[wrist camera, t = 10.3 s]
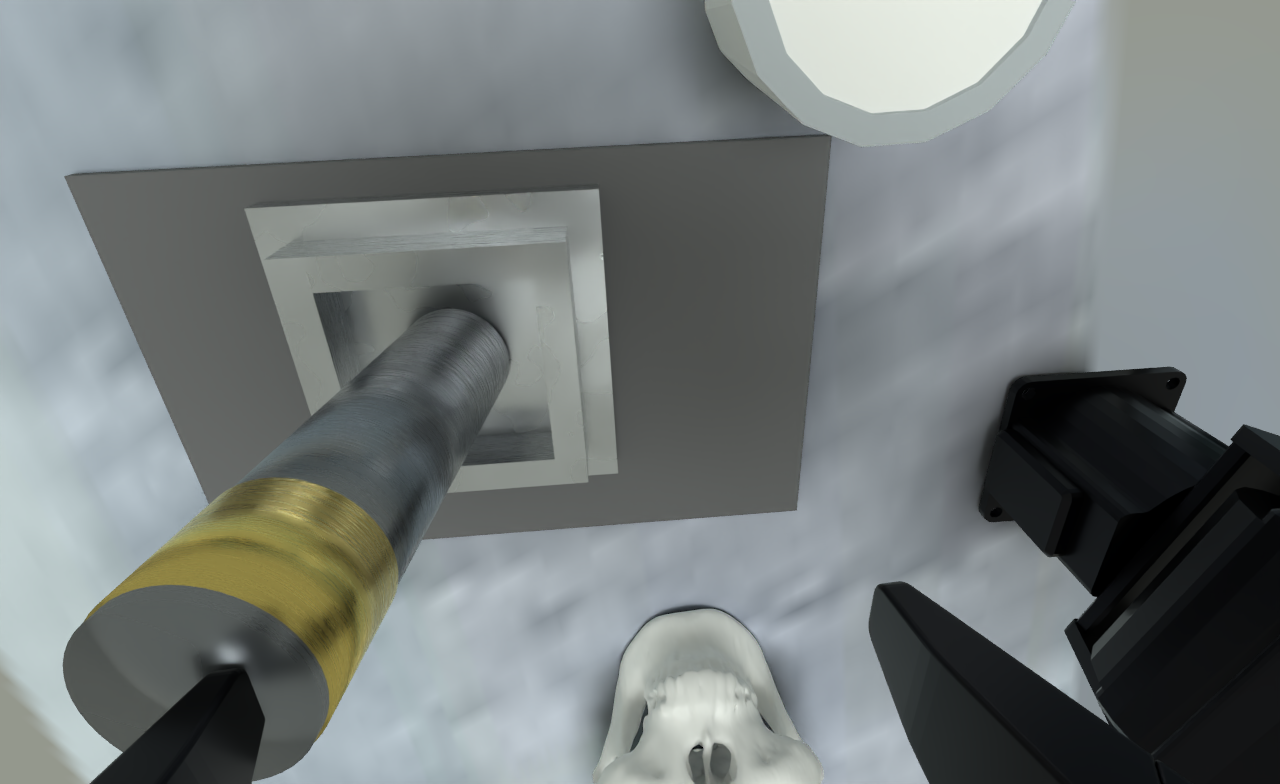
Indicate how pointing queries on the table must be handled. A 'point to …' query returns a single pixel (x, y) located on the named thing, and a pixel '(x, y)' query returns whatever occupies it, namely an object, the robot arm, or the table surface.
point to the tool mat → (635, 294)
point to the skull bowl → (701, 710)
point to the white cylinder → (885, 59)
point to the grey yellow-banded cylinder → (296, 550)
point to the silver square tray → (466, 280)
